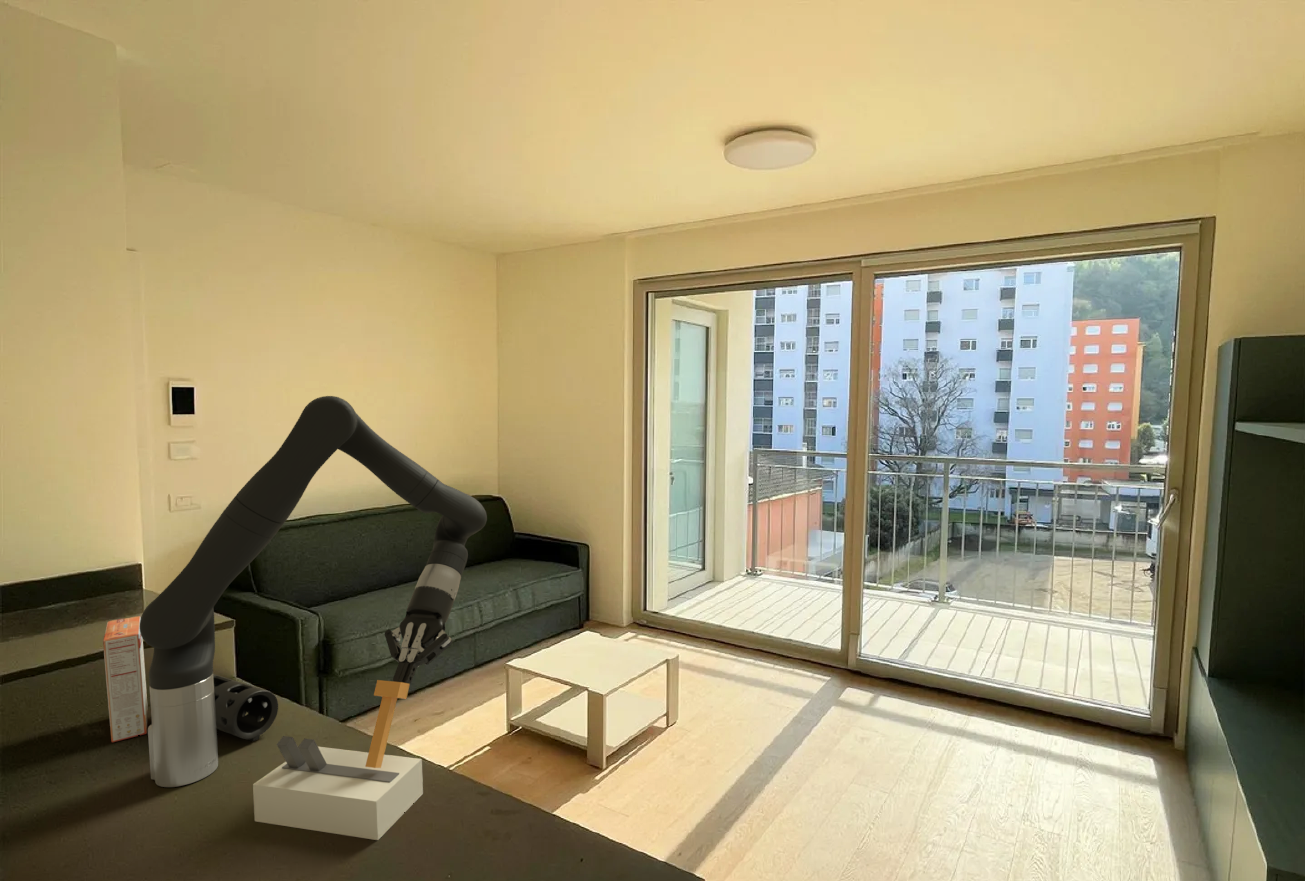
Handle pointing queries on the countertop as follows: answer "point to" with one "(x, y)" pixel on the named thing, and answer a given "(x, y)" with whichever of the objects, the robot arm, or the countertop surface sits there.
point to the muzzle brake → (243, 708)
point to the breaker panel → (336, 790)
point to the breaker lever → (384, 718)
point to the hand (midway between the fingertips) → (400, 686)
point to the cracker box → (125, 678)
